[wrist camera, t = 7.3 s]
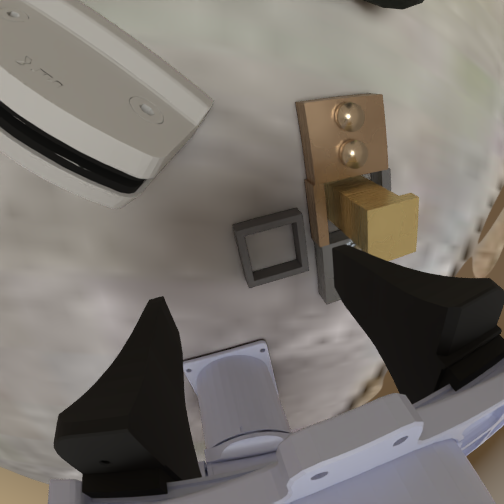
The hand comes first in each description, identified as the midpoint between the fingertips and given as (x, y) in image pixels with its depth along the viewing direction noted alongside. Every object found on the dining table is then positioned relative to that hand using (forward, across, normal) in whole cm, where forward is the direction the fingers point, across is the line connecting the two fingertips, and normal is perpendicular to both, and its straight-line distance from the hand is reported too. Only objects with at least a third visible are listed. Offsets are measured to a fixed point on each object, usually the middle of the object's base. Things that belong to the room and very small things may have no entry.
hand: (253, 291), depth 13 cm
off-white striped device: (+11, +7, -11) cm, 17 cm away
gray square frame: (+10, -3, +4) cm, 12 cm away
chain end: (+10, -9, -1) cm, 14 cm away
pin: (+10, -9, +2) cm, 14 cm away
